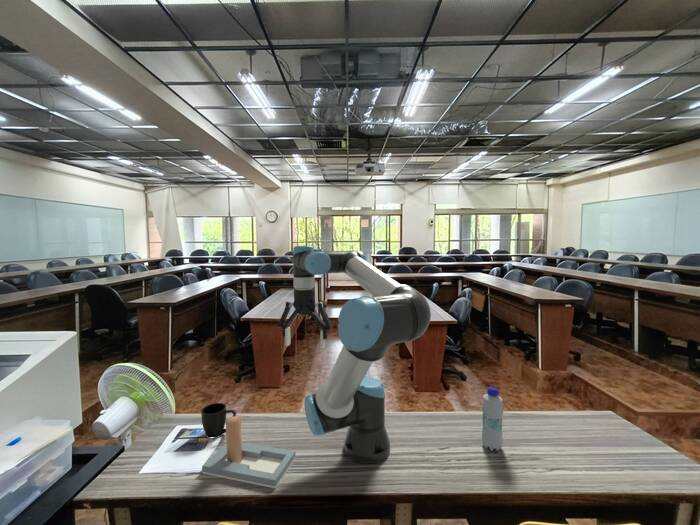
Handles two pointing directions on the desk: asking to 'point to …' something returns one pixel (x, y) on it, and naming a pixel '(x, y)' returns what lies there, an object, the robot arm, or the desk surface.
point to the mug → (215, 419)
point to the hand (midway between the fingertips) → (305, 346)
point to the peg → (234, 439)
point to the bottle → (492, 419)
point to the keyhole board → (252, 465)
